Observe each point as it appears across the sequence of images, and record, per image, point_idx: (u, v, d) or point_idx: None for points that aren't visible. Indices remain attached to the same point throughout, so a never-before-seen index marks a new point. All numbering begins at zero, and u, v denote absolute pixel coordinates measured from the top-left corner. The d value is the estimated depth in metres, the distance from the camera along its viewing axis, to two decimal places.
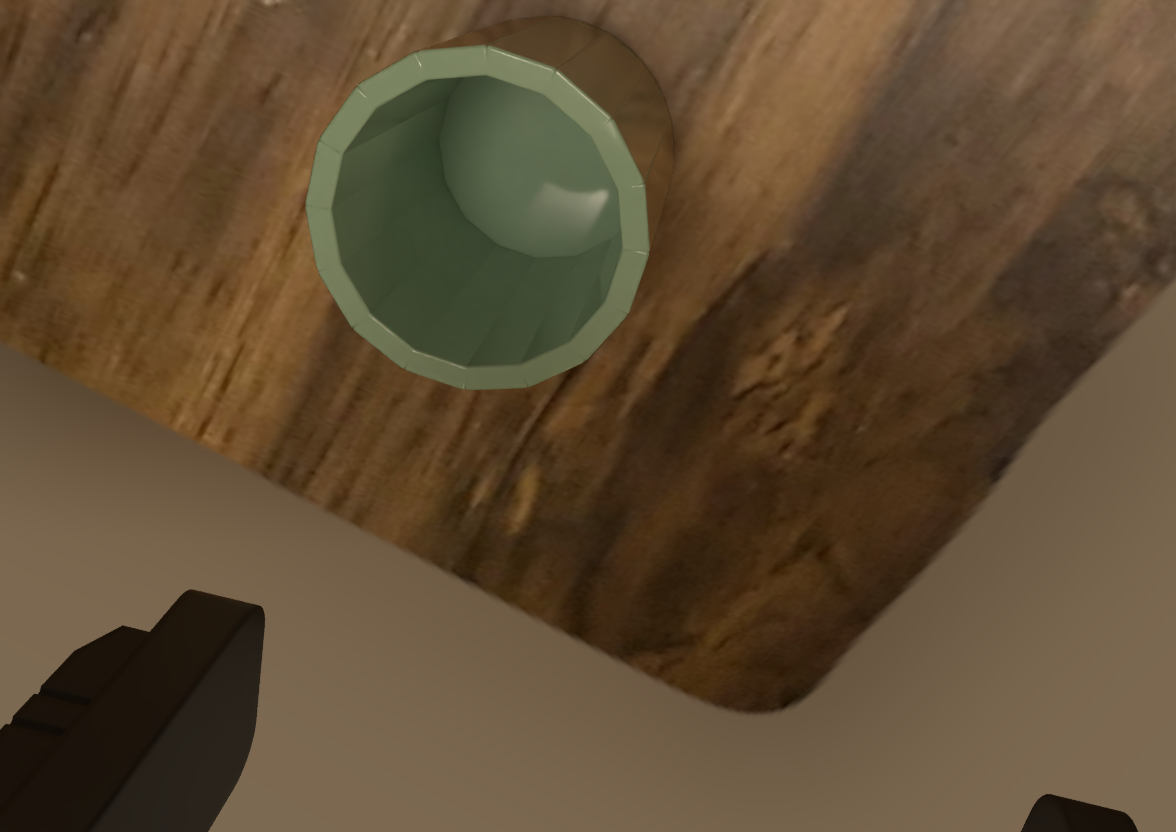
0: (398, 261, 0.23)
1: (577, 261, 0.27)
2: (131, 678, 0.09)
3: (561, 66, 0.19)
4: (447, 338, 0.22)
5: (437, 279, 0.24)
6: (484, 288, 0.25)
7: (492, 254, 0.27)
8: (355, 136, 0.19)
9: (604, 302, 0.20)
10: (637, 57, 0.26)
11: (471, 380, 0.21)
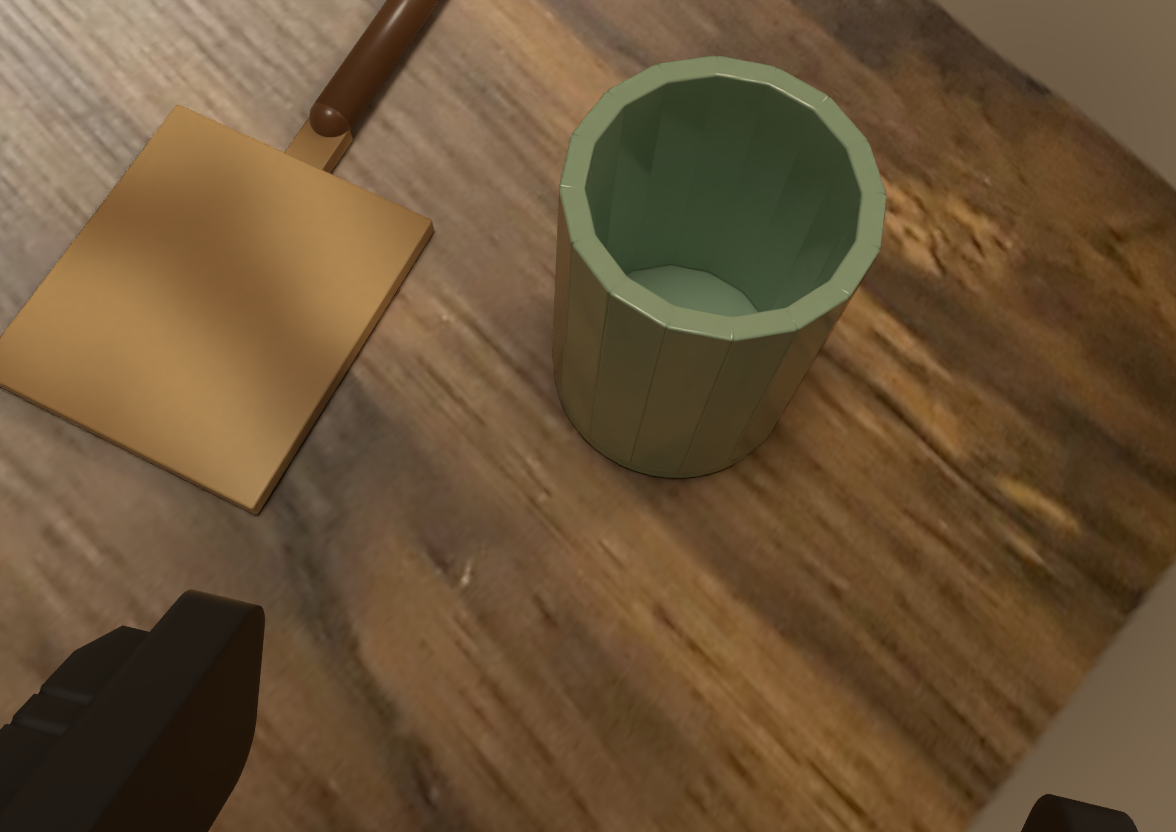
0: None
1: None
2: (131, 678, 0.09)
3: None
4: None
5: None
6: None
7: None
8: (615, 261, 0.20)
9: (814, 110, 0.22)
10: None
11: (871, 238, 0.21)
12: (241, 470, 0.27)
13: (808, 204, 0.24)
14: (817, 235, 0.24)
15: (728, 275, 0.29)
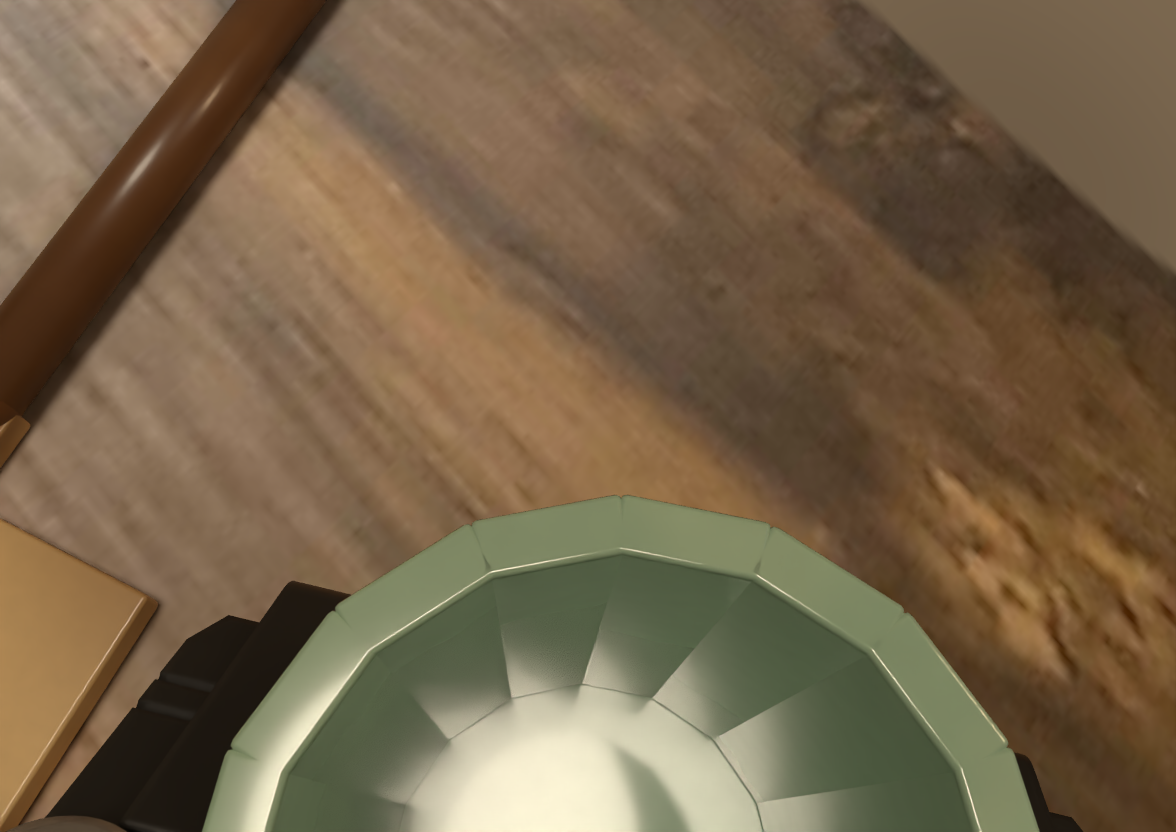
0: None
1: None
2: (250, 664, 0.10)
3: None
4: None
5: None
6: None
7: None
8: None
9: (869, 654, 0.08)
10: None
11: None
12: None
13: (846, 761, 0.11)
14: (866, 827, 0.11)
15: (686, 715, 0.16)
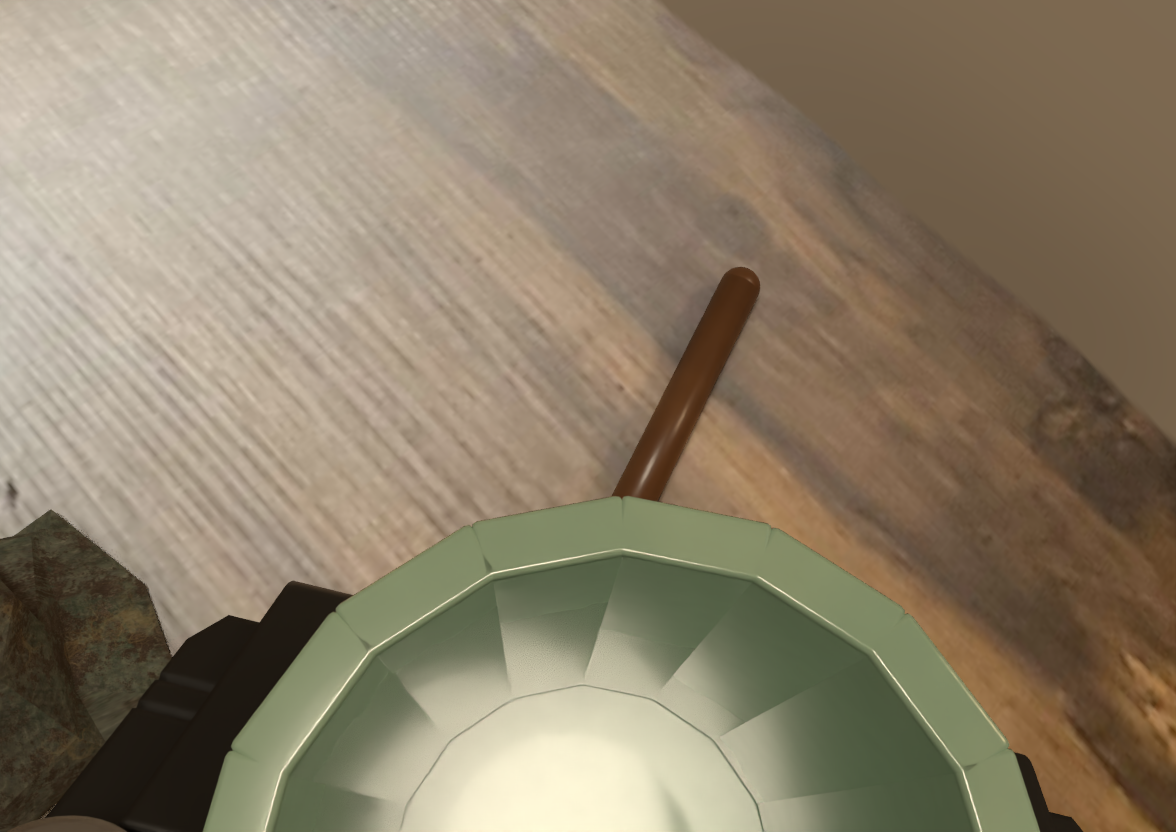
0: None
1: None
2: (250, 664, 0.10)
3: None
4: None
5: None
6: None
7: None
8: None
9: (870, 655, 0.08)
10: None
11: None
12: None
13: (846, 762, 0.11)
14: (866, 828, 0.11)
15: (686, 717, 0.16)
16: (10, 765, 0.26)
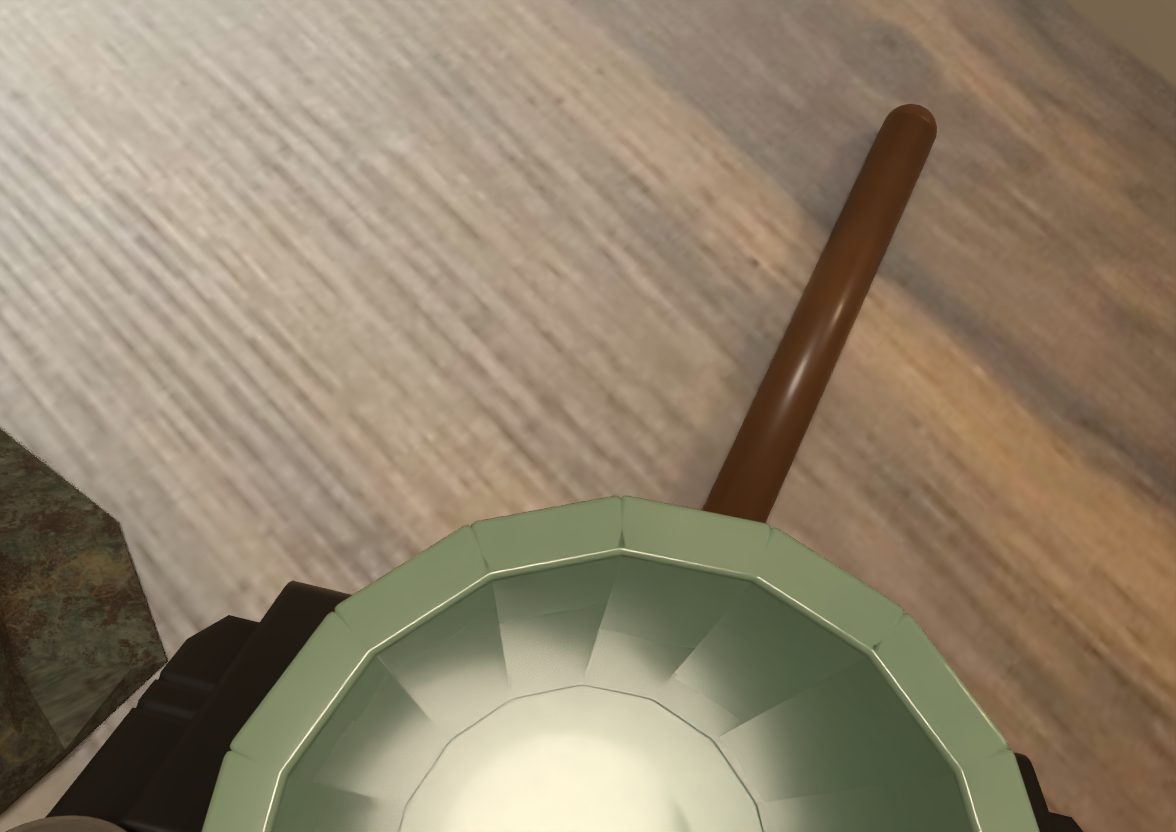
0: None
1: None
2: (250, 664, 0.10)
3: None
4: None
5: None
6: None
7: None
8: None
9: (869, 655, 0.08)
10: None
11: None
12: None
13: (846, 762, 0.11)
14: (866, 828, 0.11)
15: (685, 716, 0.16)
16: None
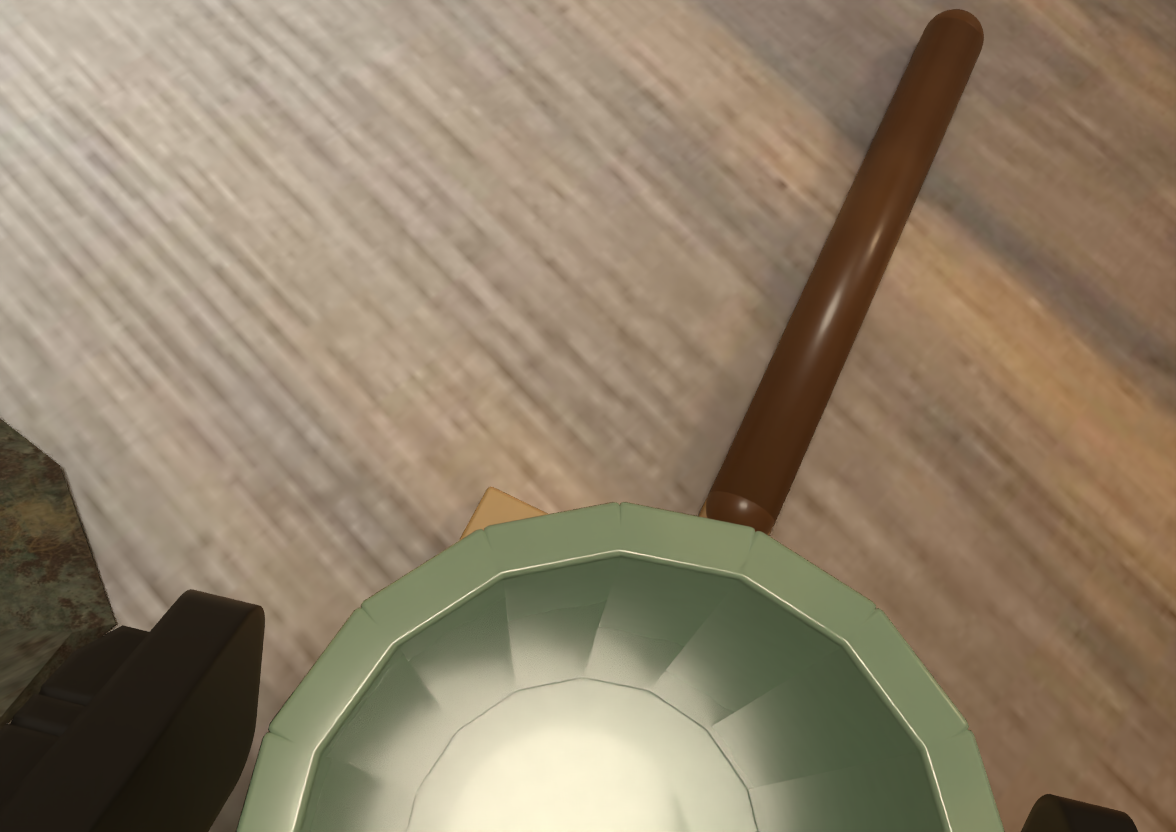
0: None
1: None
2: (131, 678, 0.09)
3: None
4: None
5: None
6: None
7: None
8: None
9: (844, 646, 0.09)
10: None
11: None
12: None
13: (826, 745, 0.11)
14: (845, 806, 0.12)
15: (680, 707, 0.16)
16: None
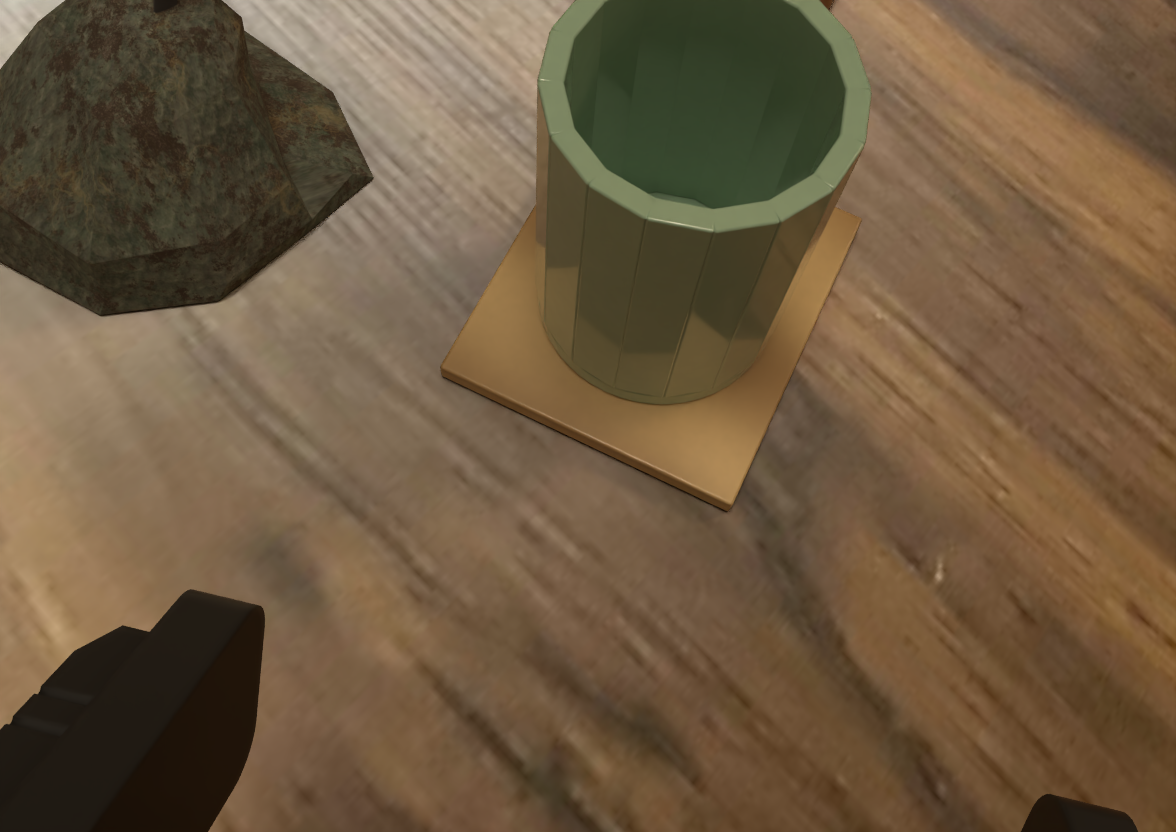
0: None
1: None
2: (131, 678, 0.09)
3: None
4: None
5: None
6: None
7: None
8: (594, 153, 0.20)
9: (798, 7, 0.21)
10: None
11: (855, 133, 0.20)
12: (715, 466, 0.27)
13: (793, 112, 0.23)
14: (802, 144, 0.24)
15: (714, 201, 0.28)
16: (233, 192, 0.27)
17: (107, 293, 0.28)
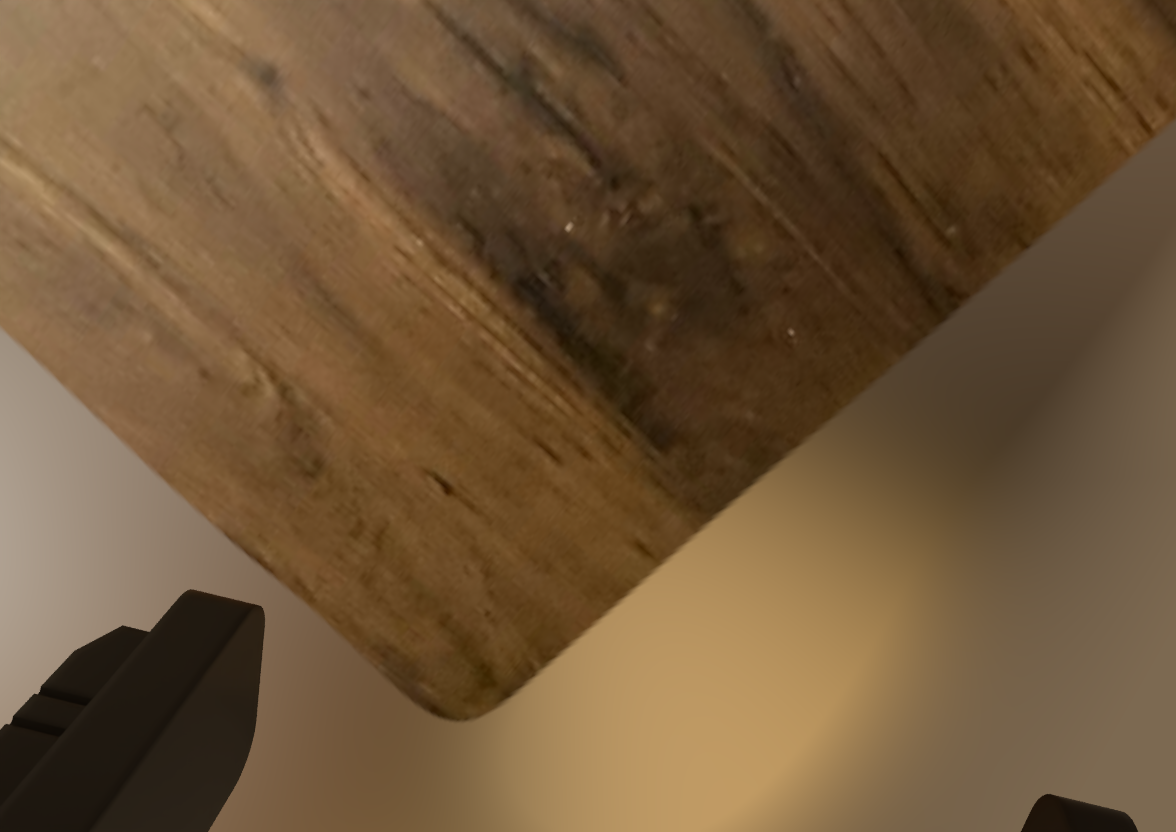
0: None
1: None
2: (131, 678, 0.09)
3: None
4: None
5: None
6: None
7: None
8: None
9: None
10: None
11: None
12: None
13: None
14: None
15: None
16: None
17: None
